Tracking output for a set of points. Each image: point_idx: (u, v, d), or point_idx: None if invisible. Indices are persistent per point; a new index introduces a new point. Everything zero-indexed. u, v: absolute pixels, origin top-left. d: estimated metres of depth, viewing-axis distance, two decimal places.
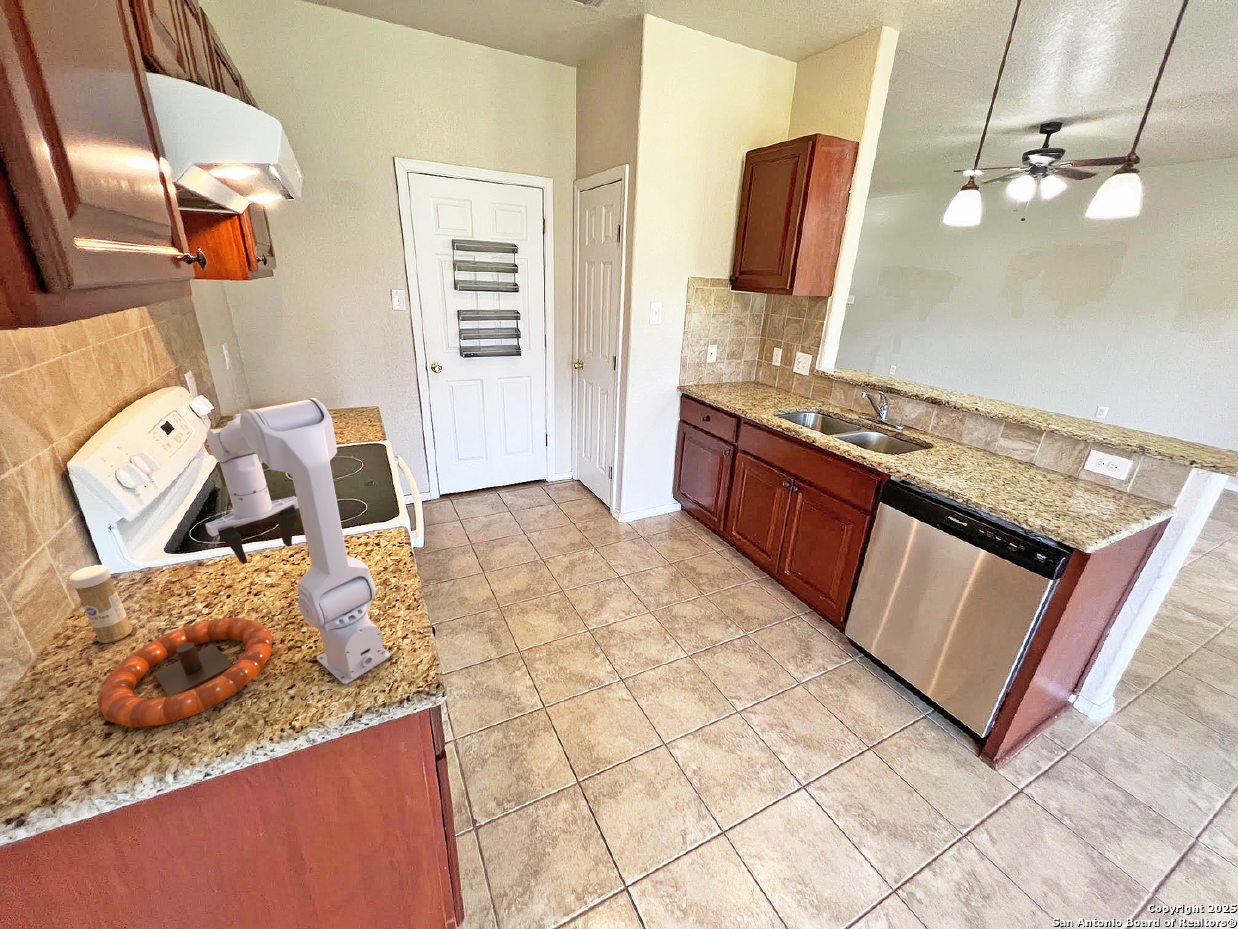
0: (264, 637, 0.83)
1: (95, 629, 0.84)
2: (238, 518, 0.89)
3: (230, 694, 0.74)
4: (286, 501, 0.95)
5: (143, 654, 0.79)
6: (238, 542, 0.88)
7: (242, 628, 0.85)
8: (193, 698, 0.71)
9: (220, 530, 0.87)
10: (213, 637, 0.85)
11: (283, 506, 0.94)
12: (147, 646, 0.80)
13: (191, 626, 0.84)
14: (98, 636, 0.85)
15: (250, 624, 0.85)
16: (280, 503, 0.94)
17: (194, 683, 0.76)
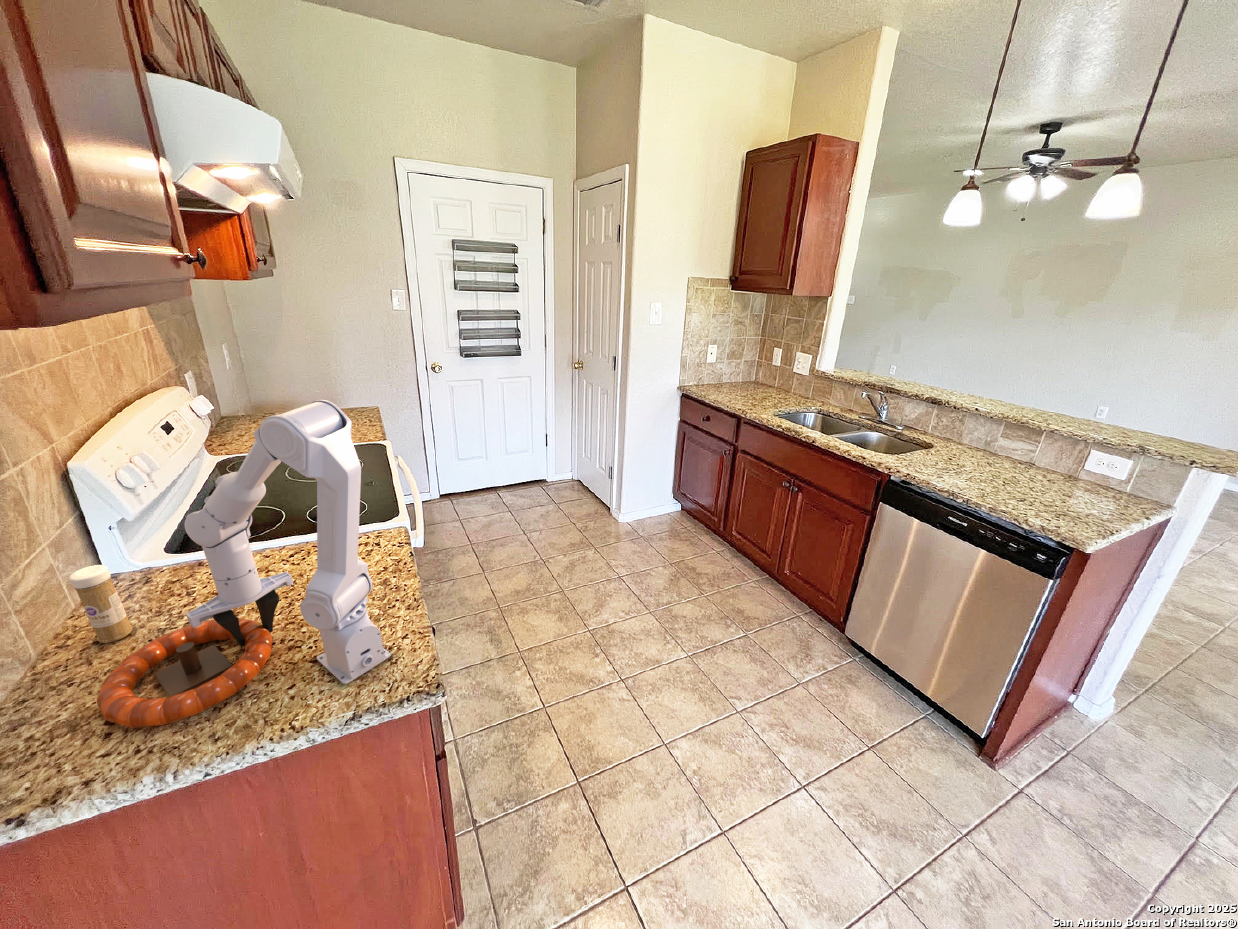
0: (264, 637, 0.83)
1: (95, 629, 0.84)
2: (223, 604, 0.79)
3: (230, 694, 0.74)
4: (277, 579, 0.86)
5: (143, 654, 0.79)
6: (235, 625, 0.80)
7: (242, 628, 0.85)
8: (193, 698, 0.71)
9: (203, 619, 0.78)
10: (213, 637, 0.85)
11: (274, 586, 0.84)
12: (147, 646, 0.80)
13: (191, 626, 0.84)
14: (98, 636, 0.85)
15: (250, 624, 0.85)
16: (271, 581, 0.85)
17: (194, 683, 0.76)
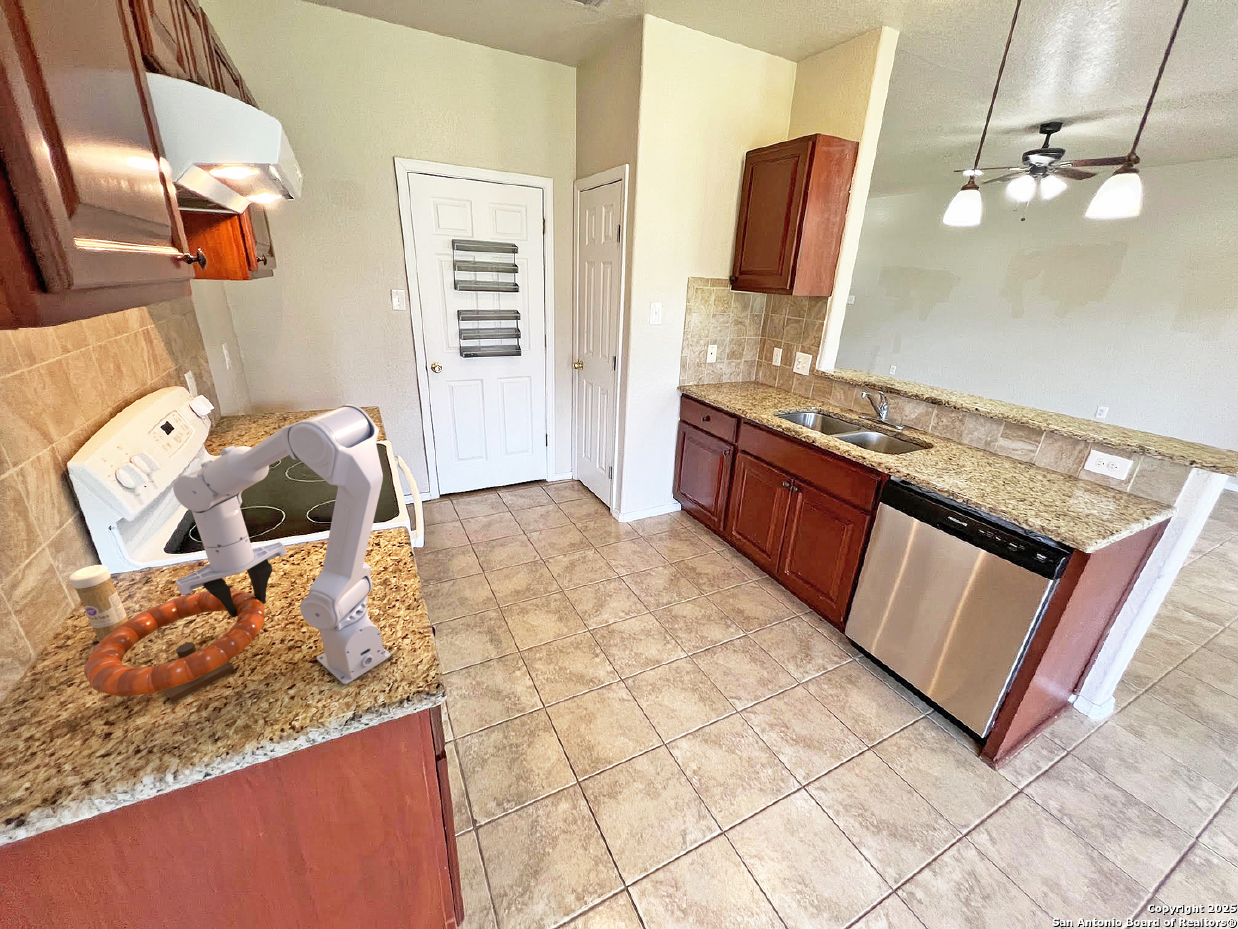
0: (256, 607, 0.81)
1: (95, 629, 0.84)
2: (214, 572, 0.77)
3: (221, 663, 0.72)
4: (270, 549, 0.84)
5: (132, 625, 0.76)
6: (227, 594, 0.78)
7: (234, 599, 0.83)
8: (182, 666, 0.69)
9: (193, 587, 0.76)
10: (204, 609, 0.83)
11: (267, 555, 0.82)
12: (136, 617, 0.78)
13: (181, 598, 0.82)
14: (98, 636, 0.85)
15: (242, 595, 0.83)
16: (263, 551, 0.83)
17: (194, 683, 0.76)
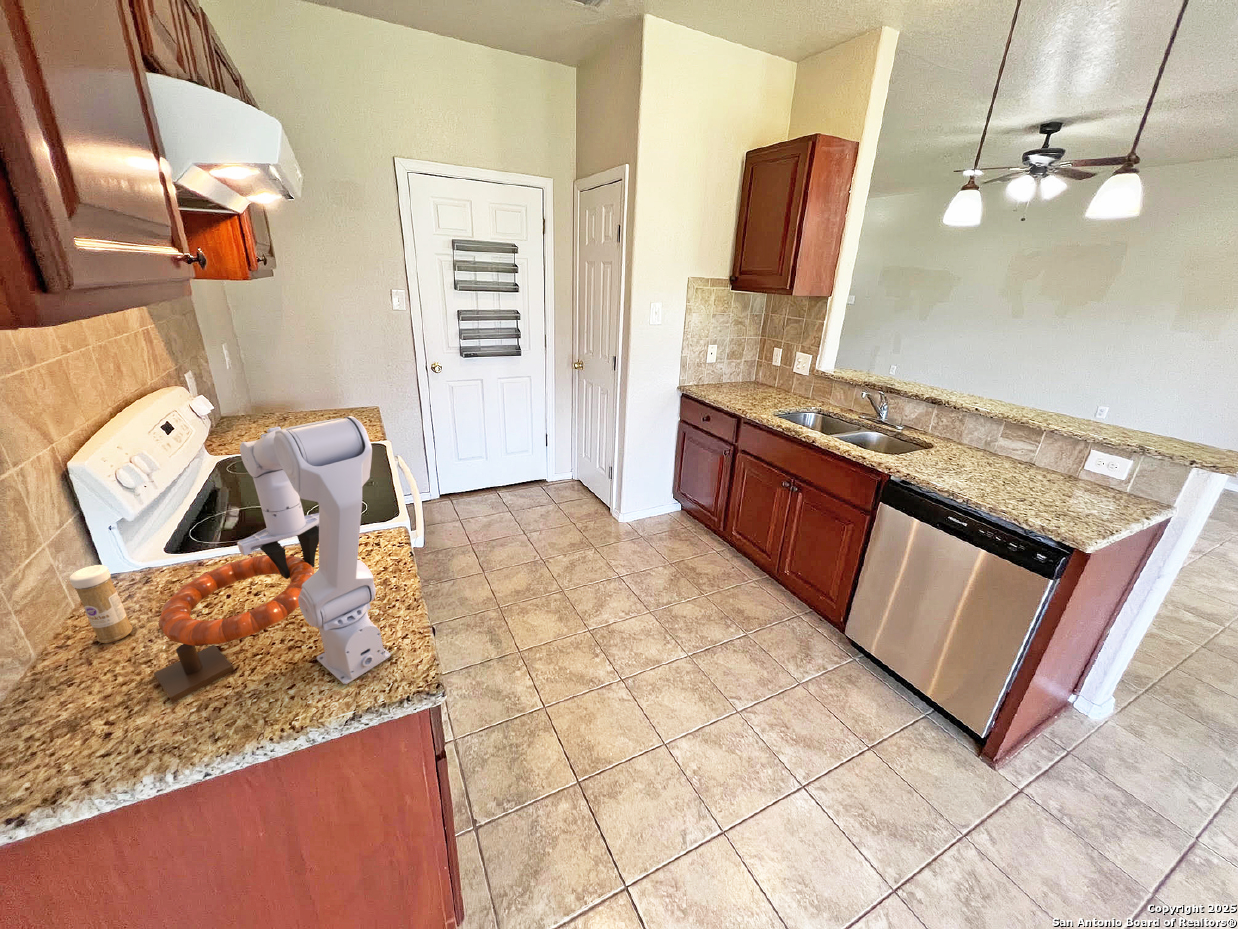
0: (307, 569, 0.87)
1: (95, 629, 0.84)
2: (271, 535, 0.84)
3: (281, 617, 0.79)
4: (319, 516, 0.90)
5: (195, 585, 0.83)
6: (282, 556, 0.85)
7: None
8: (249, 618, 0.76)
9: (253, 548, 0.82)
10: (258, 572, 0.89)
11: (317, 522, 0.89)
12: (198, 578, 0.84)
13: (237, 562, 0.89)
14: (98, 636, 0.85)
15: (293, 558, 0.90)
16: (313, 518, 0.90)
17: (194, 683, 0.76)
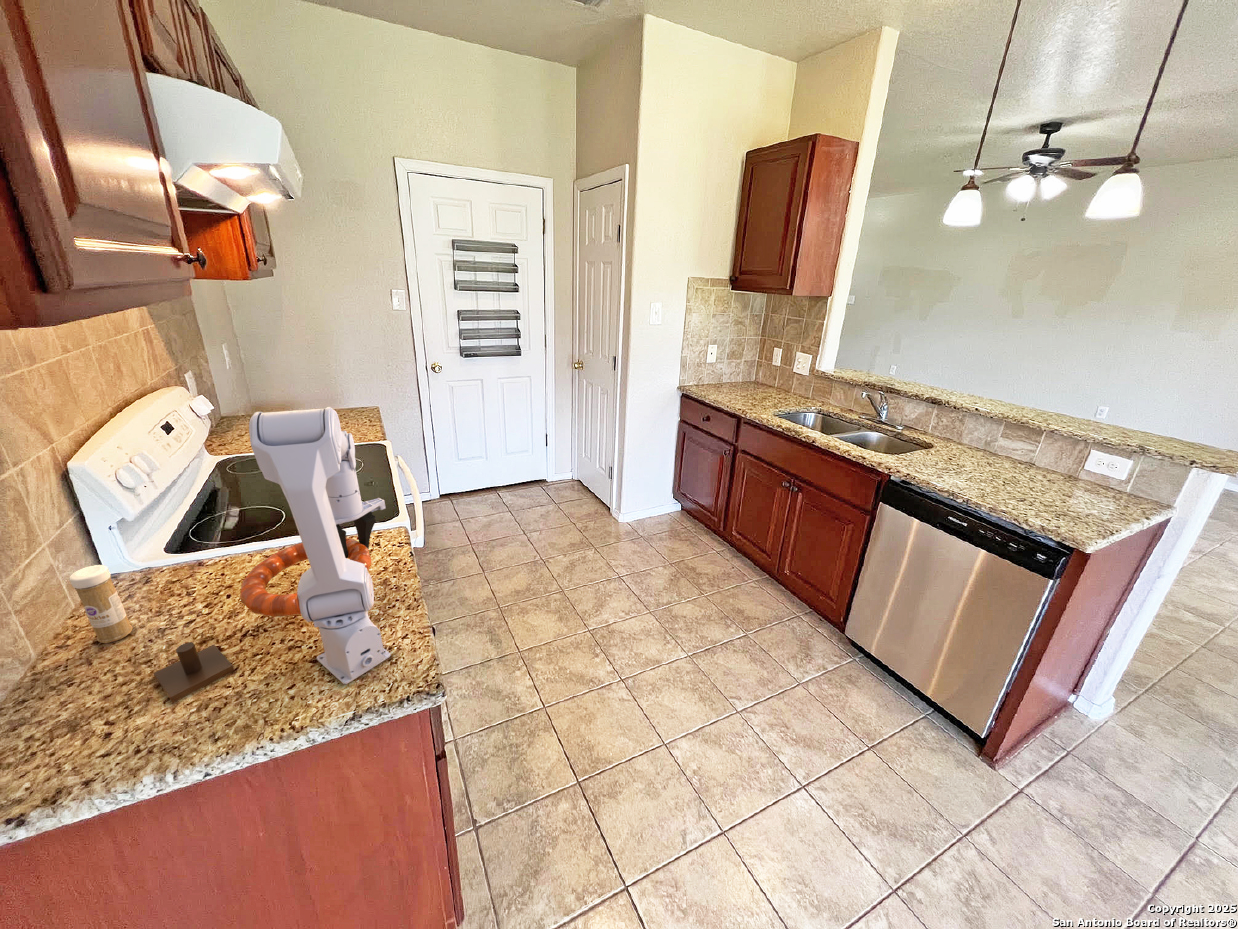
0: (364, 550, 0.97)
1: (95, 629, 0.84)
2: (334, 519, 0.93)
3: None
4: (373, 502, 1.00)
5: (267, 564, 0.93)
6: (343, 538, 0.94)
7: None
8: None
9: None
10: None
11: (372, 507, 0.98)
12: (268, 559, 0.94)
13: (300, 544, 0.98)
14: (98, 636, 0.85)
15: (349, 540, 0.99)
16: (368, 504, 0.99)
17: (194, 683, 0.76)
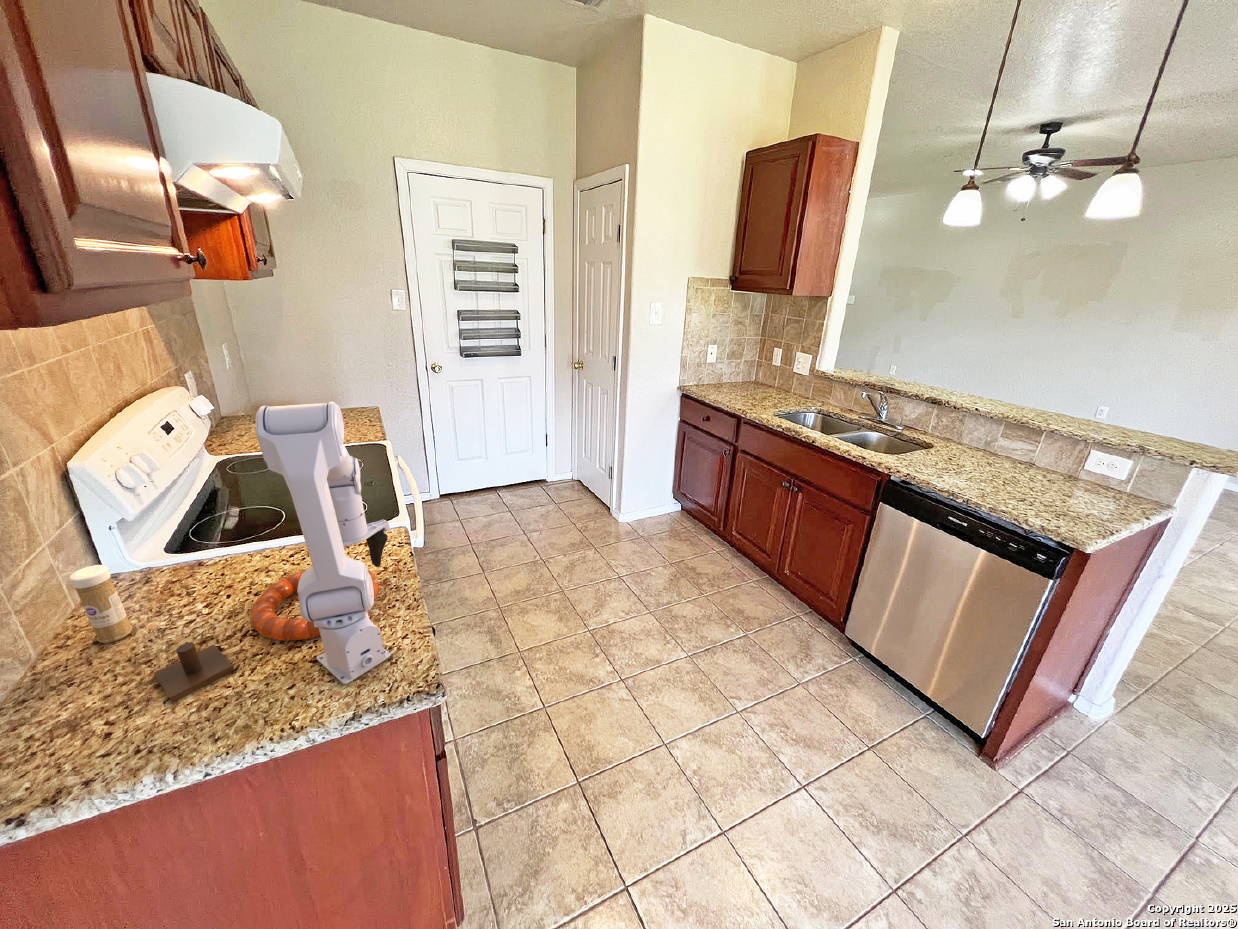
0: (372, 577, 0.99)
1: (95, 629, 0.84)
2: None
3: None
4: (378, 524, 1.02)
5: (277, 588, 0.95)
6: None
7: None
8: None
9: None
10: None
11: (377, 529, 1.00)
12: (278, 583, 0.96)
13: None
14: (98, 636, 0.85)
15: None
16: (373, 526, 1.01)
17: (194, 683, 0.76)
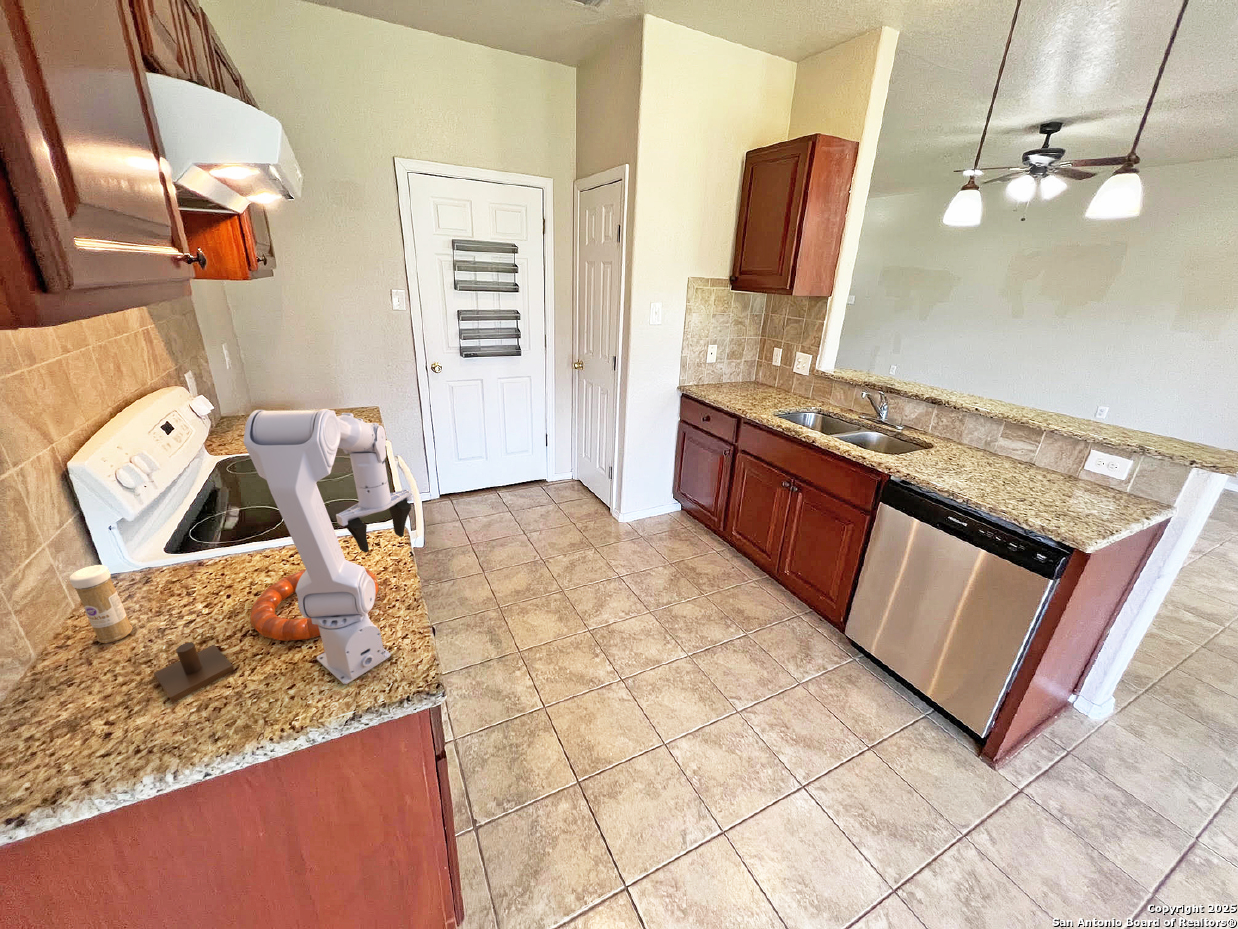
0: (372, 577, 0.99)
1: (95, 629, 0.84)
2: (363, 509, 0.94)
3: None
4: (400, 494, 1.01)
5: (277, 588, 0.95)
6: (364, 532, 0.94)
7: None
8: None
9: (349, 520, 0.93)
10: None
11: (399, 498, 0.99)
12: (278, 583, 0.96)
13: None
14: (98, 636, 0.85)
15: None
16: (396, 496, 1.00)
17: (194, 683, 0.76)
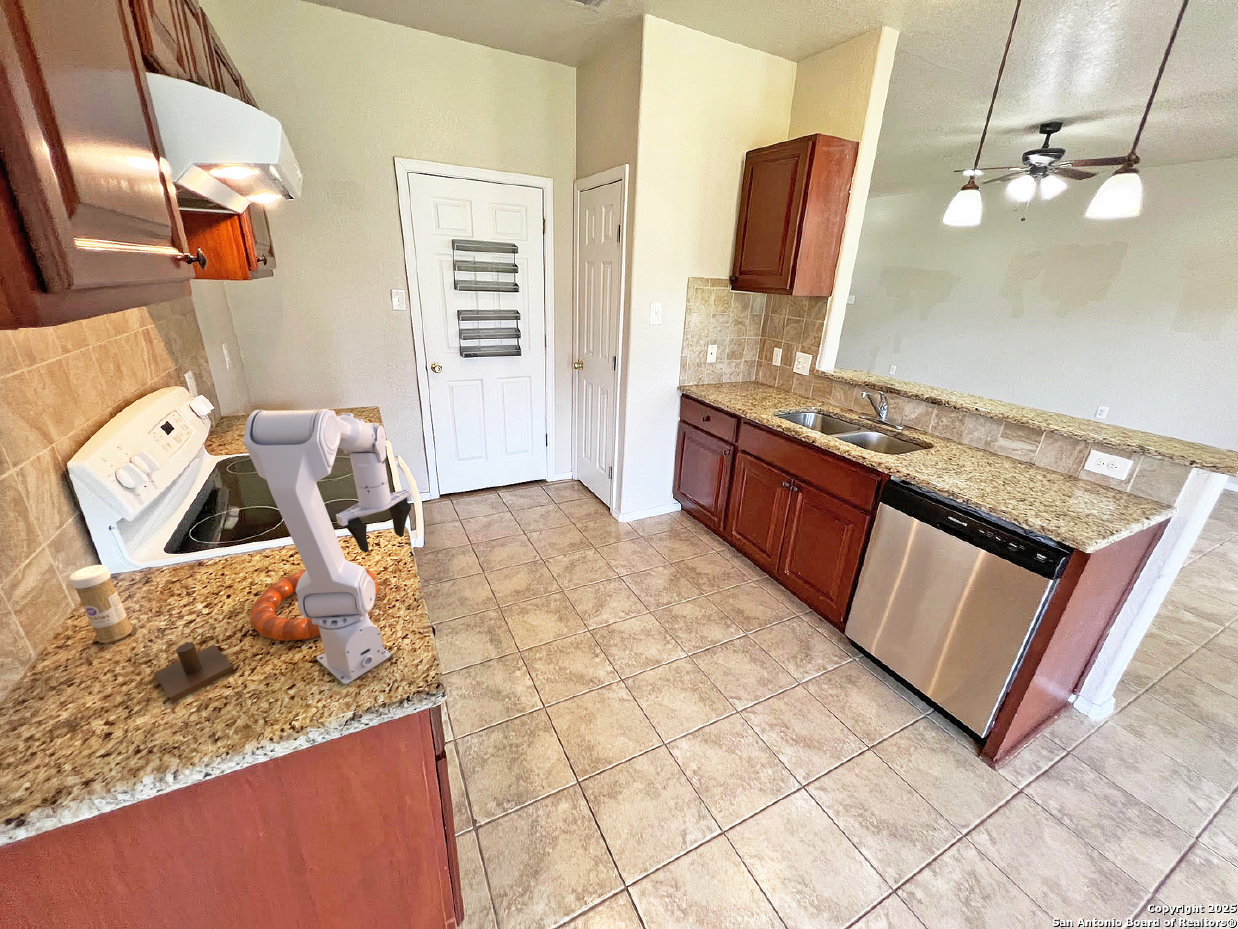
0: (372, 577, 0.99)
1: (95, 629, 0.84)
2: (363, 509, 0.94)
3: None
4: (400, 494, 1.01)
5: (277, 588, 0.95)
6: (364, 532, 0.94)
7: None
8: None
9: (349, 520, 0.93)
10: None
11: (399, 498, 0.99)
12: (278, 583, 0.96)
13: None
14: (98, 636, 0.85)
15: None
16: (396, 496, 1.00)
17: (194, 683, 0.76)
